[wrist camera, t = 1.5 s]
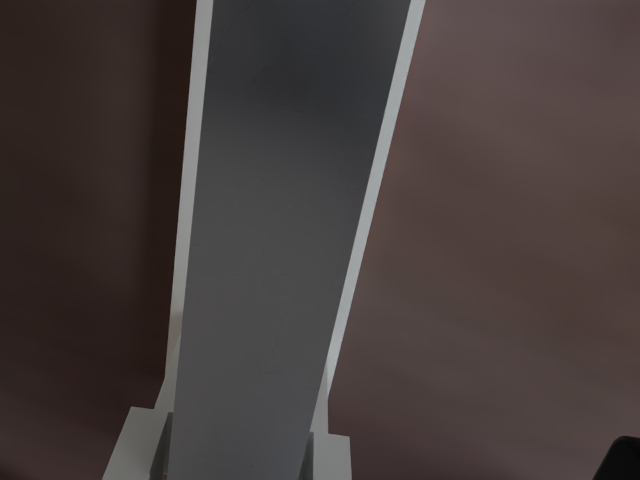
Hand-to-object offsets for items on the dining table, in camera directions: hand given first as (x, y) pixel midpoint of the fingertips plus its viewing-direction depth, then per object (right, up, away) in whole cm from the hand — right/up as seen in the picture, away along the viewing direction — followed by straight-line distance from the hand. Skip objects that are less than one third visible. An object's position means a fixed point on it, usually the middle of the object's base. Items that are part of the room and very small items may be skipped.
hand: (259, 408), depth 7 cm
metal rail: (0, +3, +6) cm, 7 cm away
